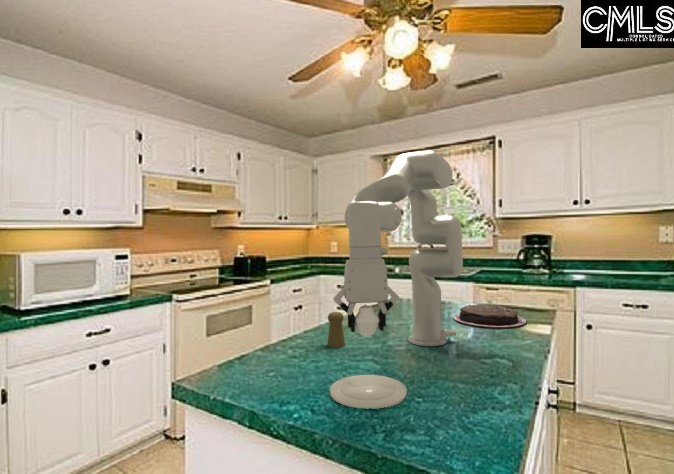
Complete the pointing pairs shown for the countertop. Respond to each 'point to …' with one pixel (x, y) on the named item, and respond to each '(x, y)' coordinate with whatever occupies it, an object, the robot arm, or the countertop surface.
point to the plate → (368, 391)
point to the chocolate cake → (489, 317)
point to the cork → (335, 330)
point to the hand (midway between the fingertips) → (366, 329)
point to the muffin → (366, 320)
